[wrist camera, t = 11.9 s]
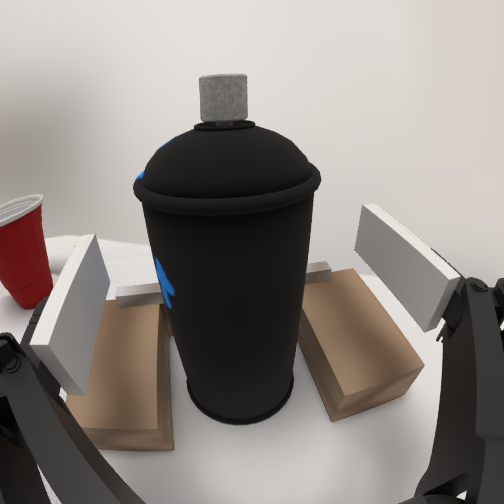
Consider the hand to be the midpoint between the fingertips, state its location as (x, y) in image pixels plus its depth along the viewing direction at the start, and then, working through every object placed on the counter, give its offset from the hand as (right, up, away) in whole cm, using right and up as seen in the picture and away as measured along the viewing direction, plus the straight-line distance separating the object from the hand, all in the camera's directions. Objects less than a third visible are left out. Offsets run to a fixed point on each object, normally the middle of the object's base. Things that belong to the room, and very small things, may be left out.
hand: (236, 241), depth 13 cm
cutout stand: (0, -10, +8) cm, 13 cm away
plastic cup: (-27, -6, +15) cm, 31 cm away
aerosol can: (0, -10, +7) cm, 13 cm away
